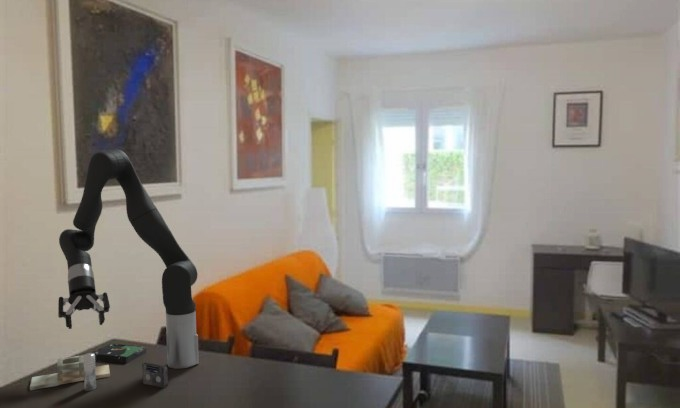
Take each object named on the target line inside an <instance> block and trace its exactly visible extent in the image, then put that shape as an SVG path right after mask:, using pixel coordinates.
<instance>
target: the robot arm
mask: <svg viewBox="0 0 680 408" xmlns="http://www.w3.org/2000/svg"><path fill="white" fill-rule="evenodd" d="M85 178H86V179H85V181H84V182H85V183H84V186H83V187H84V188H83V193H82V196H81V200H80V202H79V206H78V207H77V210H76V213H75V215H74V217H73V220H72V223H73V224H72V225H73V226H74V227H75V229H71V228H70V229H69V228H68V229H64V230H63V231H62V232H61V233H60V234H59V238H58V242H59V243H58V244H59V247H60V249H61V252H62V253H63V255H64V258H65V261H66V263H67V264H66V265H67V284H68V285H67V286H68V294H69V297H65V298H64V297H63V296H59V297H58V301H57V302H58V303H57V304H58V305H57V306H58V309H57V310H58V315H57V316H58V318H64V320H65V327H66V328H68V329H69V330H71V329H72V327H73V324H72V315H74V313H75V312H76V311H77V310H78V311H84V310H86V311H87V310H90V309H91V310H93V312H96V313H97V314H98V322H99V326H103V324H104V323H105V320H106V318H105V313H109V312H110V308H111V305H110V300H109V297H108V293H107V292H106V291H105V292H103V293H102V294H98V293H97V291H96V290H97V289H96V281H95V276H94V275H95V274H94V271H93V267H92V266H93V265H92V258H91V254H90V253H88V251H90V250H91V249H92V248H93V247H94V245H95V231H96V226H97V224H98V221H99V218H100V217H101V214H102V211H103V201H102V193H103V189H104V188H105V185H106V184H107V182H108V181H111V180H116V181H117V182H118V183H119V185H120V187H121V189H122V190H123V193H124V196H125V203H126V204H125V207H126V216H127V219H128V221H129V224H131V227H132V228H133V229H134V231H135V233H136V234H137V236H138V237H139V239H141V240H142V241H143V242H144V243H145V244H146V245H147V246H148V247H150V248H151V249H152V250H153V251H154V252H155V253H156V254H158V256H159V257H160V258H161V260H162V263H164V266H165V267H166V268H165V269H164V270H163V272H162V276H161V291H162V301H163V302H162V303H163V306H164V308H165V325H166V327H165V328H166V330H165V331H166V361H167V368H171V369H176V370H177V369H186V368H190V367H193V366H195V365H199V363H200V362H199V335H198V334H197V315H196V314H197V313H196V309H197V307H196V302H195V300H193V295H192V286H194V285H195V284H196V282H197V279H198V270H197V267H196V265H195V264H194V263H193V261H192V260H191V259H190V258H189V256H188V255H187V254H186V252H185V251H184V250H183V249H182V247H181V246H180V244H179V243H178V242H177V240H176V238H175V236H174V235H173V233H172V231H171V229H170V228H169V226H168V225H167V223H166V221H165V219H164V217H163V216H162V214H161V213H160V211H159V209H158V208H157V205H155V203H154V202H153V201H152V199H151V197H150V196H149V194H148V191H147V190H146V188H145V187H144V185H143V183H142V182H141V179H140V177H139V176H138V173H137V171H136V169H135V167H134V165H133V163H132V161H131V159H130V158H129V156H128V154H126V152H124V151H123V150H121V149H117V148H114V149H108V150H103V151H102V150H101V151H98V152H96V153H94V154H93V155H92V156H91V158H90V161H89V163H88V168H87V173H86V177H85ZM98 300H100V302H102V304H103V306H102V305H100V303H99V302H98ZM67 303H68V304H70V306H69V307H68V309H67V310H66V311H64V306H66V305H67Z"/></svg>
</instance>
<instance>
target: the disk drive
mask: <svg viewBox="0 0 680 408" xmlns="http://www.w3.org/2000/svg"><path fill="white" fill-rule="evenodd" d="M90 353H95V361H101V362H102V361H103V362H112V363H121V364H128V363H130V362H132V361H134V360H136V359H138V358H139V357H141V356H143V355H145V354H146V353H147V348H146V347H145V346H141V345H129V344H118V343H109V344H106V345H104V346H101V347H100V348H98V350H94V351H91V352H90Z"/></svg>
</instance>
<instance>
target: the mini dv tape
mask: <svg viewBox="0 0 680 408" xmlns="http://www.w3.org/2000/svg"><path fill="white" fill-rule="evenodd" d="M141 367H142V384H144V385H149V386H154V387H158V388H162V389H165V388H166V387H168V386H169V383H168V382H169V380H168V379H169V377H168V366H165V365H161V364H154V363H150V362H142V365H141Z"/></svg>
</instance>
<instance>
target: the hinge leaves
mask: <svg viewBox="0 0 680 408" xmlns="http://www.w3.org/2000/svg"><path fill="white" fill-rule="evenodd" d="M83 355H84V354H82V355H75V356H70V357H69V356H68V357H62V358H58V359H57V364H56V369H57V371H56V372H55V373H50V374H43V375H37V376H32V377H31V381H30V385H29V390H30V391H34V390H41V389H45V388H52V387H57V386H60V385H65V384H70V383H78V382H83V381H84V360H83ZM95 368H96V380H98V379H104V378H109V377H111V372H110V365H109V364H104V365H97V366H95Z"/></svg>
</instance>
